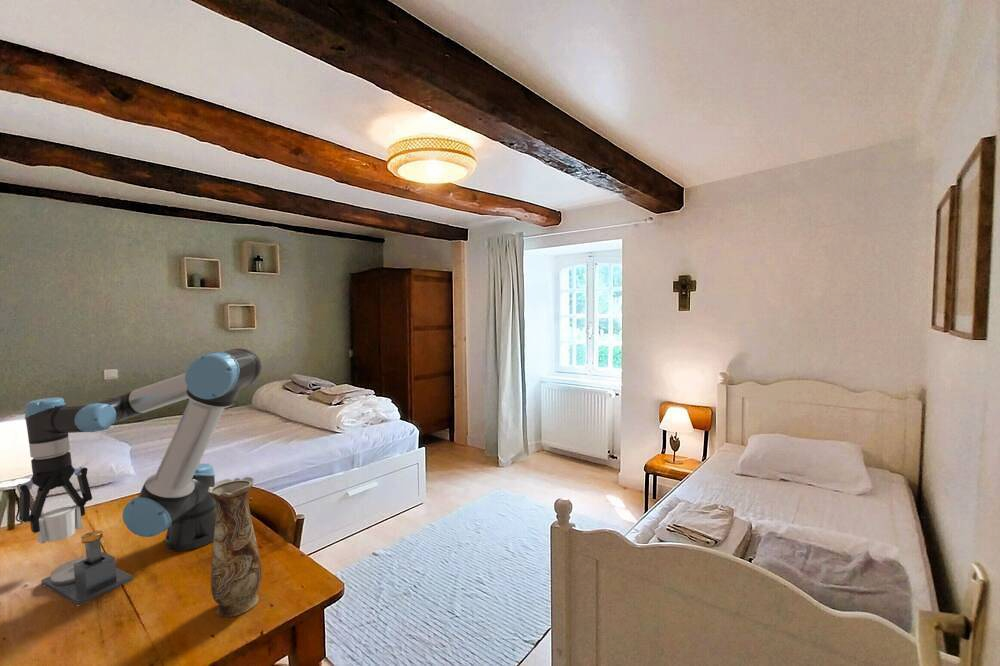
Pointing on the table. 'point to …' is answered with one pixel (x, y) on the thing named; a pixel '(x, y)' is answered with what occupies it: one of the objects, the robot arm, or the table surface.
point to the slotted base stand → (90, 580)
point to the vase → (234, 549)
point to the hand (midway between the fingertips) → (60, 534)
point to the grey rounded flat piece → (65, 573)
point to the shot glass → (59, 523)
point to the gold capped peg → (92, 546)
